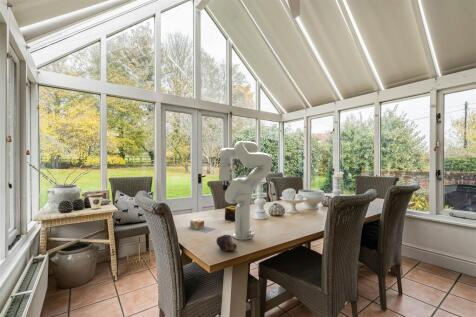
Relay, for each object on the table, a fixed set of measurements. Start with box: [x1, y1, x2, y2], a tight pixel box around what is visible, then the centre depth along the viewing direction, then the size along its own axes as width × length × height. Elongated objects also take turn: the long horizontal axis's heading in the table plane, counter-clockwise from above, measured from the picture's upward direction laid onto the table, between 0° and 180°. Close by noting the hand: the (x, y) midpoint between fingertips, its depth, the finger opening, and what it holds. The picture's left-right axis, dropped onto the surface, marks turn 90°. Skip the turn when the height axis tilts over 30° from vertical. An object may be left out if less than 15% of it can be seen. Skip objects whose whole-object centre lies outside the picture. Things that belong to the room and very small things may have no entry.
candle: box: [224, 205, 237, 222], centre depth 186 cm, size 10×10×10 cm
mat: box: [186, 225, 216, 233], centre depth 160 cm, size 19×10×1 cm, turn 55°
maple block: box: [189, 218, 205, 229], centre depth 162 cm, size 5×5×9 cm
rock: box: [216, 234, 238, 252], centre depth 123 cm, size 12×9×10 cm
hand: (225, 190), depth 165 cm, fingers closed
